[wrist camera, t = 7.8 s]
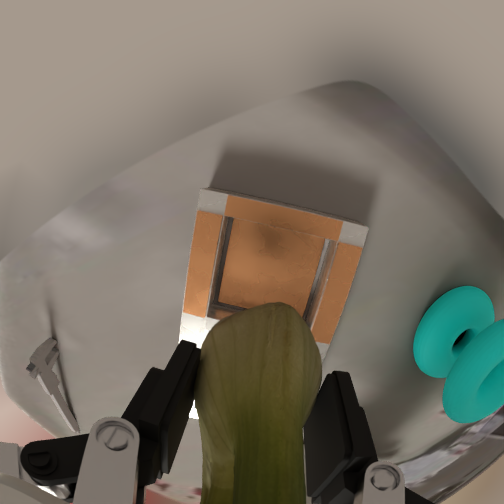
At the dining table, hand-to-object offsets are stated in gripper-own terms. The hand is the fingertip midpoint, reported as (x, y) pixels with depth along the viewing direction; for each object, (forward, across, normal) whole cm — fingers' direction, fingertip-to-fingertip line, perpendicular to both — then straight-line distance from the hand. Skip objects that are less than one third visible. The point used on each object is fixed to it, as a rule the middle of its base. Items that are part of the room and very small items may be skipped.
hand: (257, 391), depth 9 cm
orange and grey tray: (+14, 0, +6) cm, 15 cm away
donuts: (+14, -20, +2) cm, 24 cm away
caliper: (+14, +23, +25) cm, 37 cm away
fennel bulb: (+4, 0, 0) cm, 4 cm away
